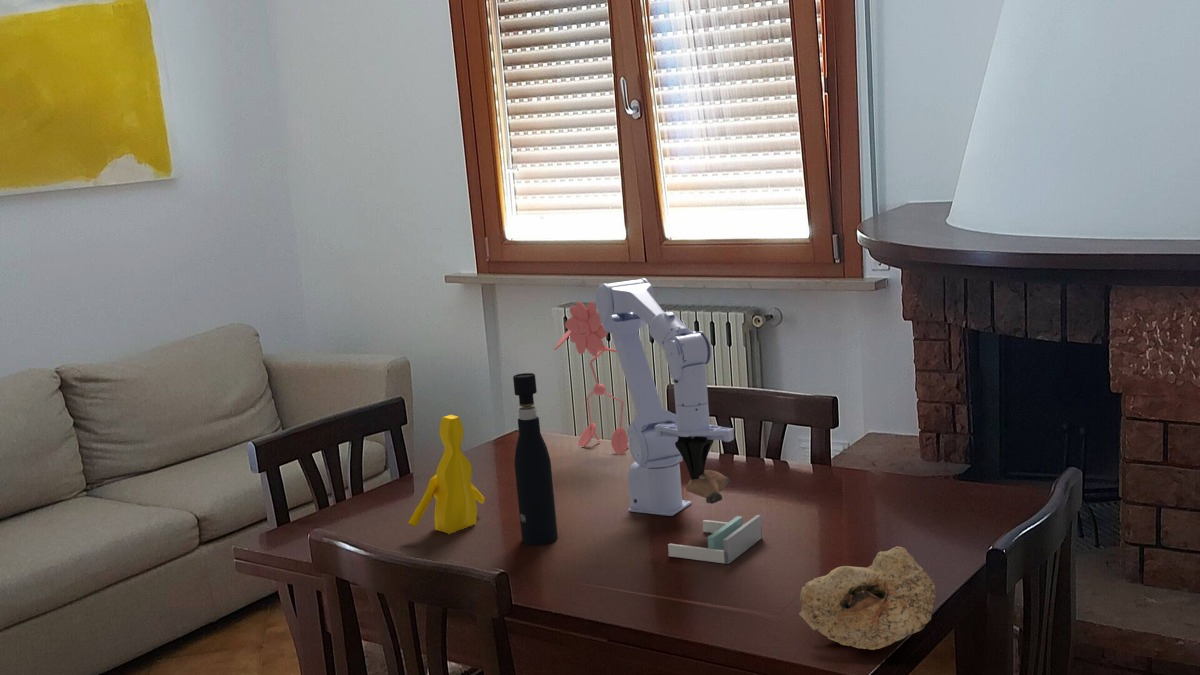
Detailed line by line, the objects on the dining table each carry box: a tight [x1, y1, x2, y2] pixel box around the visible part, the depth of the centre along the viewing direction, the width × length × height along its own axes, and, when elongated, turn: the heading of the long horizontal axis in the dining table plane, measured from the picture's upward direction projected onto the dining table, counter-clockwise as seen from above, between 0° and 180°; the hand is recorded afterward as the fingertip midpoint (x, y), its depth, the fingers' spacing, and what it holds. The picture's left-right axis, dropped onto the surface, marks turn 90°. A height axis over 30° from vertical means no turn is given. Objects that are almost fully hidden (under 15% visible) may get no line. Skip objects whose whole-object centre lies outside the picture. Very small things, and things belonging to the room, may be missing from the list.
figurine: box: [553, 300, 630, 455], centre depth 257 cm, size 15×26×35 cm, turn 44°
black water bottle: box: [512, 372, 559, 547], centre depth 205 cm, size 6×6×30 cm
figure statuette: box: [407, 414, 486, 535], centre depth 215 cm, size 18×8×22 cm, turn 135°
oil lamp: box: [685, 469, 731, 504], centre depth 203 cm, size 9×4×8 cm
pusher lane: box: [667, 514, 763, 565], centre depth 196 cm, size 11×13×4 cm
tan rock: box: [798, 546, 937, 651], centre depth 159 cm, size 18×14×8 cm
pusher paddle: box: [707, 515, 744, 550], centre depth 195 cm, size 1×11×4 cm, turn 148°
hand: (697, 478), depth 204 cm, fingers closed, pressing on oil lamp
